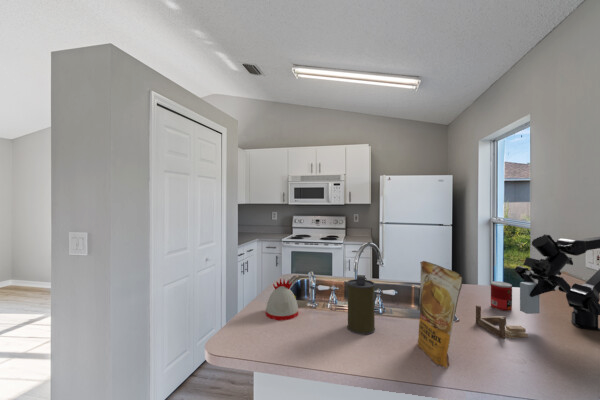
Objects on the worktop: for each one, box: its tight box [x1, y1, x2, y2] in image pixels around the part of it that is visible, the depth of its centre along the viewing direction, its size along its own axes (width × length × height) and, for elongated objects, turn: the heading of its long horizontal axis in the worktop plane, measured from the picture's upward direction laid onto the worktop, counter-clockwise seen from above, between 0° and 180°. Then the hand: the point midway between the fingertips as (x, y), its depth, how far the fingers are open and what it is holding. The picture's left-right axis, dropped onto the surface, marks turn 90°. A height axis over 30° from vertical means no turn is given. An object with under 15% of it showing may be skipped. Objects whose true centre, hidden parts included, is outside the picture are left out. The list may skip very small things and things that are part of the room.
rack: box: [475, 305, 507, 340], centre depth 109 cm, size 12×13×7 cm
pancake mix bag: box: [417, 260, 463, 370], centre depth 92 cm, size 7×19×28 cm, turn 5°
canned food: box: [490, 280, 513, 312], centre depth 131 cm, size 8×8×11 cm
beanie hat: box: [265, 278, 299, 321], centre depth 124 cm, size 14×14×15 cm
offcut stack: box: [505, 325, 529, 339], centre depth 104 cm, size 7×4×3 cm, turn 96°
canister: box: [346, 274, 376, 336], centre depth 110 cm, size 11×10×20 cm
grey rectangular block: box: [519, 281, 541, 315], centre depth 110 cm, size 5×3×11 cm, turn 96°
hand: (526, 294), depth 110 cm, fingers closed on grey rectangular block, 3 cm apart
